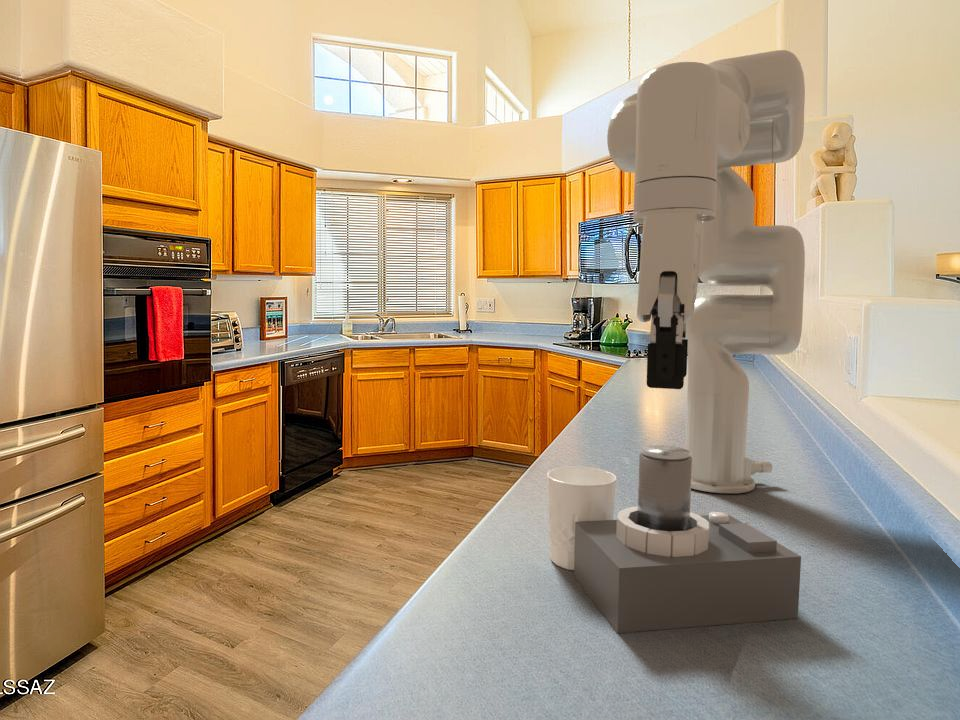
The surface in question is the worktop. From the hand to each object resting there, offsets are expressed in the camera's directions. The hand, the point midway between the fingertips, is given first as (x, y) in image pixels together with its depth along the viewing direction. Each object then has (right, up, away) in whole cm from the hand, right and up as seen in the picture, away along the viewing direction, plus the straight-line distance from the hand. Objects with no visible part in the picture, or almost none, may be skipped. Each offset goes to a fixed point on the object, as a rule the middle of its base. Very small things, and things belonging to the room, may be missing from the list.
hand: (667, 381), depth 60 cm
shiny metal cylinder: (0, -16, +1) cm, 16 cm away
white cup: (-7, -21, +11) cm, 25 cm away
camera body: (+2, -22, +2) cm, 22 cm away
